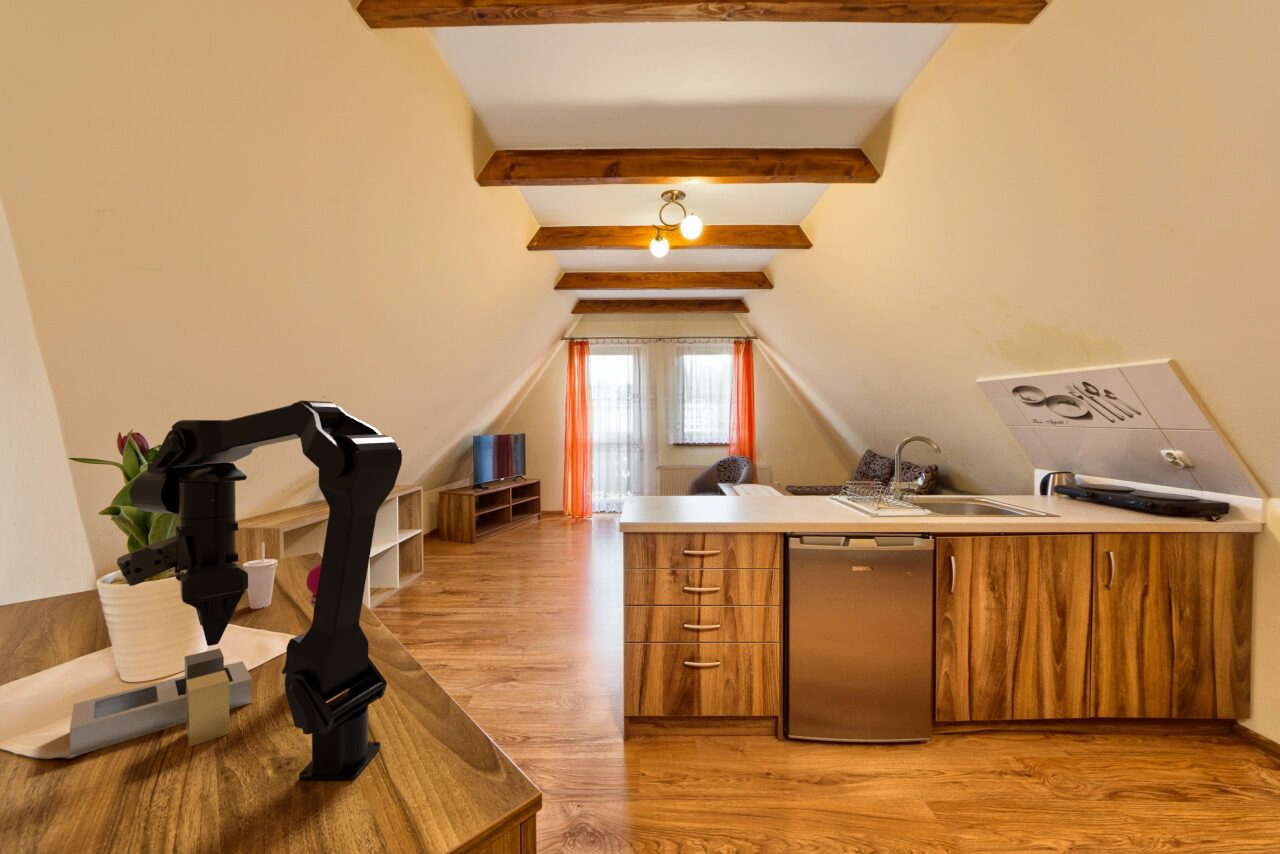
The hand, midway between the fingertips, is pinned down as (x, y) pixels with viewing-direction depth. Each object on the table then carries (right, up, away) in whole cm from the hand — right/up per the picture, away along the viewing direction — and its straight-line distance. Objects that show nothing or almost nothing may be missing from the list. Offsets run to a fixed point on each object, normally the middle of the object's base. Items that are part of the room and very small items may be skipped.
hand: (209, 634), depth 70 cm
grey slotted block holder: (-9, -13, +4) cm, 16 cm away
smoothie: (-28, -13, +48) cm, 57 cm away
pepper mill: (+7, -13, +15) cm, 21 cm away
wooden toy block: (0, -13, 0) cm, 13 cm away
